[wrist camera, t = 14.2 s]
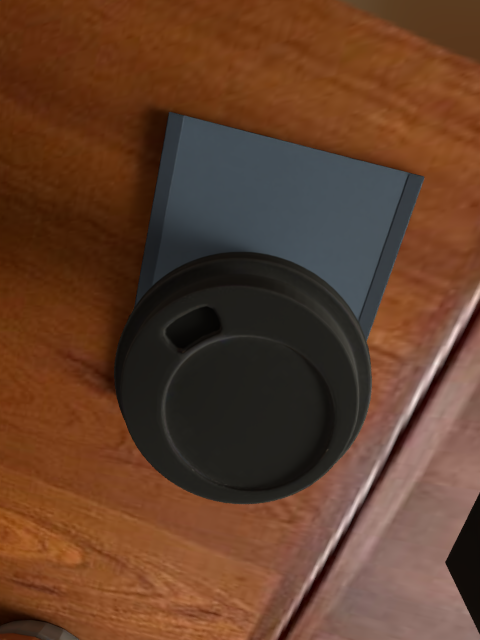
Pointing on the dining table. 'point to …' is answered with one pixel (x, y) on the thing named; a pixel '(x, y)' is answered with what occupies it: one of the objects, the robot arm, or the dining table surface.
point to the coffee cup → (243, 377)
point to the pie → (33, 631)
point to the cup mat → (277, 209)
